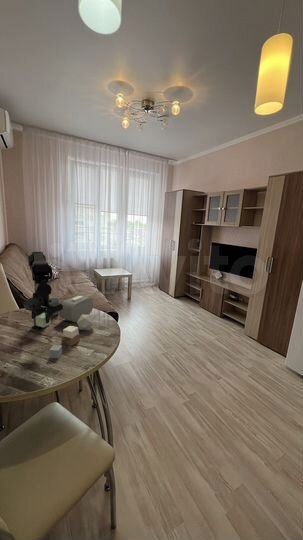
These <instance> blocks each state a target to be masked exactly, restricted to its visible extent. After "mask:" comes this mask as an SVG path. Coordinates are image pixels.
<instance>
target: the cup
mask: <svg viewBox="0 0 303 540" xmlns="http://www.w3.org/2000/svg"><path fill="white" fill-rule="evenodd" d="M49 299H50V300H51V301H52V302H50V303H49V304H53V303H55V302H56V303H61V300H60V298H58V297H49ZM57 315H59V311H58V312H56V313H53V315H52V317H54V316H57Z"/></svg>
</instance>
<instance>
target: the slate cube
mask: <svg viewBox="0 0 303 540" xmlns="http://www.w3.org/2000/svg"><path fill="white" fill-rule="evenodd" d="M48 354H49V359H60V357H61V356H62V354H63V345H62V344H61V345H60V344H58V345H56V344H52V346H51V347H50V348H49V353H48Z"/></svg>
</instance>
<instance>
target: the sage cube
mask: <svg viewBox="0 0 303 540" xmlns="http://www.w3.org/2000/svg"><path fill="white" fill-rule="evenodd" d="M51 324H52V318H51V319H50V321H49V323H46V318H45V313H42V314H40V315H38V316H36V326H40V327H45V326H47V325H49V326H50V325H51ZM47 327H48V326H47ZM45 328H46V327H45Z"/></svg>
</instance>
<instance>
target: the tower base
mask: <svg viewBox="0 0 303 540" xmlns="http://www.w3.org/2000/svg"><path fill="white" fill-rule="evenodd" d="M80 339H81V338H80V333H79V332H78V335H76V336H75V337H73V338H68V337H64V336H63V335H61V345H65V346H70V347H72V346H74V345H75V344H77V343H79V342H80Z"/></svg>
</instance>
